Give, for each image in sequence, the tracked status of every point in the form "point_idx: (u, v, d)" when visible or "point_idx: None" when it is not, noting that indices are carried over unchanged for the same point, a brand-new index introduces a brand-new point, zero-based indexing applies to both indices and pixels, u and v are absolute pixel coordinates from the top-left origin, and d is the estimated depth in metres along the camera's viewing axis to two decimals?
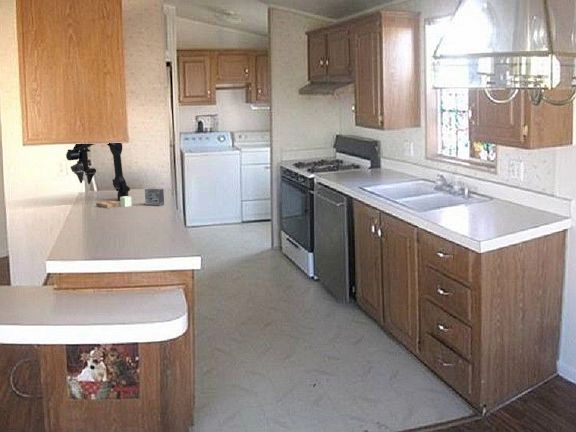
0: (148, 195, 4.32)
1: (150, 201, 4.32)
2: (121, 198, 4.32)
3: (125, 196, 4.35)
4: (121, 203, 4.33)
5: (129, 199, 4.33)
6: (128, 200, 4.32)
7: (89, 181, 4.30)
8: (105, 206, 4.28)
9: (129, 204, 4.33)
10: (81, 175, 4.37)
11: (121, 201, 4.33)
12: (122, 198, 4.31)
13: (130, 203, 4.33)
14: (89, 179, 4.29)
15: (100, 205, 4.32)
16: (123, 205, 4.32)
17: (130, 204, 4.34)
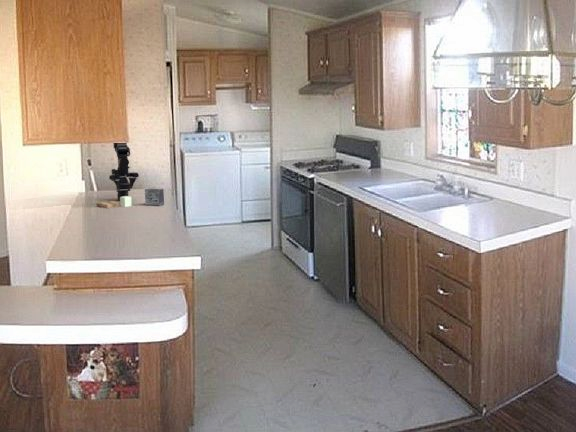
0: (148, 195, 4.32)
1: (150, 201, 4.32)
2: (121, 198, 4.32)
3: (125, 196, 4.35)
4: (121, 203, 4.33)
5: (129, 199, 4.33)
6: (128, 200, 4.32)
7: (117, 187, 4.28)
8: (105, 206, 4.28)
9: (129, 204, 4.33)
10: (131, 181, 4.34)
11: (121, 201, 4.33)
12: (122, 198, 4.31)
13: (130, 203, 4.33)
14: (117, 185, 4.28)
15: (100, 205, 4.32)
16: (123, 205, 4.32)
17: (130, 204, 4.34)
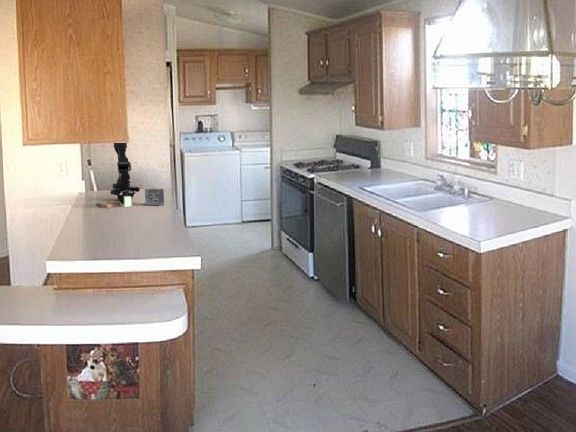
0: (148, 195, 4.32)
1: (150, 201, 4.32)
2: None
3: (125, 196, 4.35)
4: None
5: (129, 199, 4.33)
6: (128, 200, 4.32)
7: (121, 202, 4.31)
8: (105, 206, 4.28)
9: (129, 204, 4.33)
10: None
11: None
12: None
13: (130, 203, 4.33)
14: (120, 200, 4.31)
15: (100, 205, 4.32)
16: (123, 205, 4.32)
17: (130, 204, 4.34)
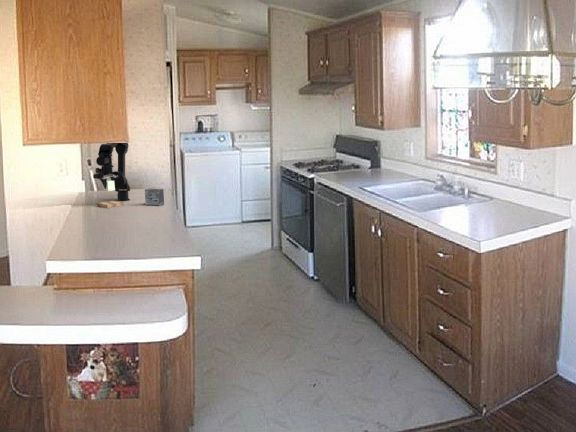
0: (148, 195, 4.32)
1: (150, 201, 4.32)
2: None
3: (108, 180, 4.34)
4: None
5: (112, 183, 4.32)
6: (112, 184, 4.32)
7: (104, 186, 4.31)
8: (105, 206, 4.28)
9: (112, 188, 4.33)
10: (113, 180, 4.34)
11: None
12: None
13: (113, 187, 4.33)
14: (103, 184, 4.30)
15: (100, 205, 4.32)
16: (106, 189, 4.31)
17: (113, 188, 4.33)
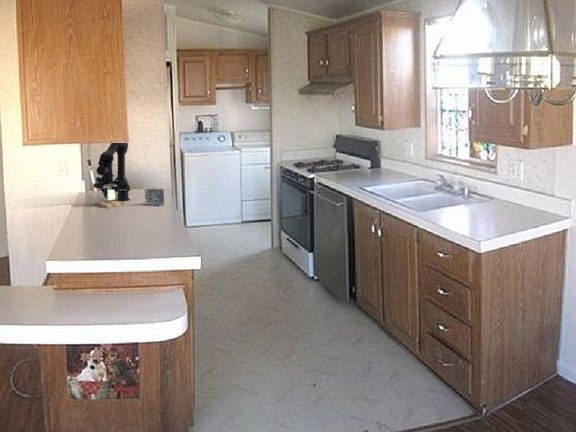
0: (148, 195, 4.32)
1: (150, 201, 4.32)
2: None
3: None
4: None
5: (112, 192, 4.33)
6: (112, 193, 4.33)
7: (104, 195, 4.32)
8: (105, 206, 4.28)
9: (112, 197, 4.34)
10: (113, 189, 4.35)
11: None
12: None
13: (113, 196, 4.34)
14: (103, 193, 4.31)
15: (100, 205, 4.32)
16: (106, 198, 4.32)
17: (113, 197, 4.34)
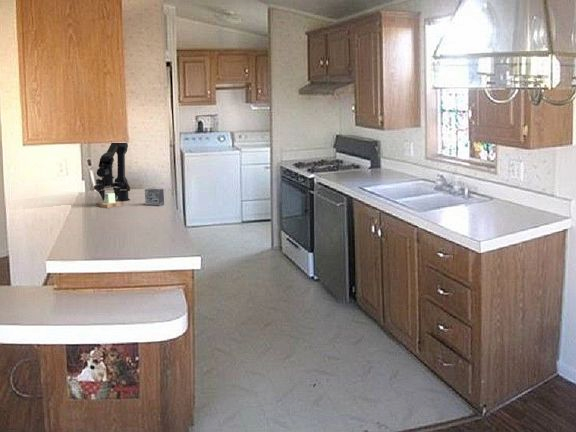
0: (148, 195, 4.32)
1: (150, 201, 4.32)
2: (105, 195, 4.33)
3: (109, 193, 4.36)
4: (105, 199, 4.34)
5: (113, 196, 4.34)
6: (112, 196, 4.33)
7: (102, 197, 4.31)
8: (105, 206, 4.28)
9: (113, 201, 4.34)
10: (116, 191, 4.37)
11: (105, 198, 4.33)
12: (106, 195, 4.32)
13: (114, 200, 4.35)
14: (101, 195, 4.30)
15: (100, 205, 4.32)
16: (107, 202, 4.33)
17: (114, 201, 4.35)
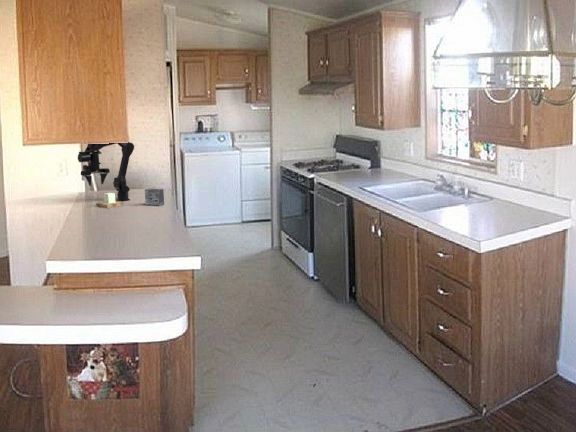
0: (148, 195, 4.32)
1: (150, 201, 4.32)
2: (105, 195, 4.33)
3: (109, 193, 4.36)
4: (105, 199, 4.34)
5: (113, 196, 4.34)
6: (112, 196, 4.33)
7: (89, 183, 4.38)
8: (105, 206, 4.28)
9: (113, 201, 4.34)
10: (102, 177, 4.44)
11: (105, 198, 4.33)
12: (106, 195, 4.32)
13: (114, 200, 4.35)
14: (88, 181, 4.37)
15: (100, 205, 4.32)
16: (107, 202, 4.33)
17: (114, 201, 4.35)
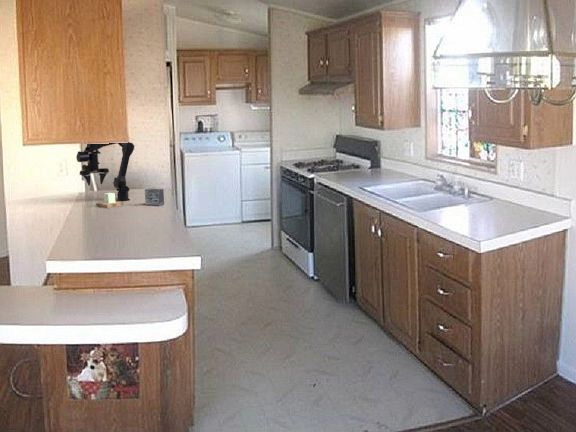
0: (148, 195, 4.32)
1: (150, 201, 4.32)
2: (105, 195, 4.33)
3: (109, 193, 4.36)
4: (105, 199, 4.34)
5: (113, 196, 4.34)
6: (112, 196, 4.33)
7: (88, 183, 4.39)
8: (105, 206, 4.28)
9: (113, 201, 4.34)
10: (101, 176, 4.45)
11: (105, 198, 4.33)
12: (106, 195, 4.32)
13: (114, 200, 4.35)
14: (87, 181, 4.38)
15: (100, 205, 4.32)
16: (107, 202, 4.33)
17: (114, 201, 4.35)
